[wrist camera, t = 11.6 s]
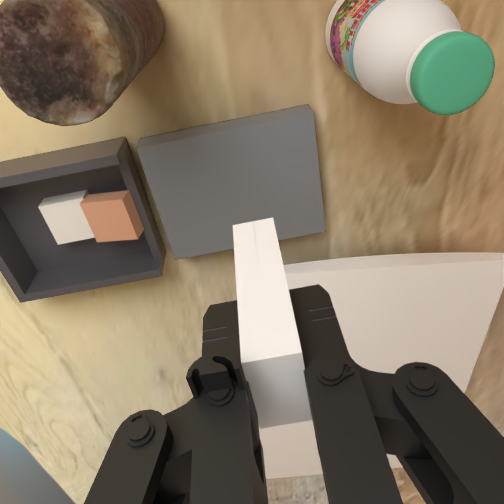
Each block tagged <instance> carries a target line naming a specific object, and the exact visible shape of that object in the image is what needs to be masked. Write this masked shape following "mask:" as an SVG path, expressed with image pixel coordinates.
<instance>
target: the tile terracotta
mask: <svg viewBox="0 0 504 504" xmlns="http://www.w3.org/2000/svg"><path fill="white" fill-rule="evenodd" d="M79 204H80V206H81V208H82V210H83V213H84V215H85V217H86V219H87V221H88V224H89V226H90V228H91V230H92V232H93V234H94V237H95V239H96V241H97V242H108V241H121V240H134V239H138V238H139V237H140V235H141V233H142V232H143V230H144V228H143V225H142V222H141V220H140V217H139V215H138V212H137V209H136V207H135V204H134V201H133V199H132V196H131V193H130V191H129V190H126V191H116V192H107V193H97V194H88V195H87V196H86V197H85V198H84V199H83V200H82V201H81V202H80V203H79Z"/></svg>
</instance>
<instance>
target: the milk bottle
mask: <svg viewBox="0 0 504 504" xmlns="http://www.w3.org/2000/svg"><path fill="white" fill-rule="evenodd" d="M325 41H326V46H327V49H328V52H329V54H330V56H331V58H332V59H333V60H334V62H335V63H336V64H337V65H338V66H339V67H340V68H341V69H342V70H343V71H344V72H345V73H346V74H348V75H349V76H350V77H351V78H352V79H353V80H354V81H355V82H356V83H358V84H359V85H360V86H361V87H362V88H363V89H365V90H366V91H367V92H369V93H370V94H372V95H373V96H375V97H376V98H378V99H381V100H383V101H386V102H389V103H394V104H412V103H419V104H420V105H421V106H422V107H424V108H425V109H427V110H428V111H430V112H432V113H435V114H439V115H452V114H457V113H460V112H462V111H464V110H466V109H468V108H470V107H471V106H472V105H474V104H475V103H476V102H477V101H478V100H479V99H480V98H481V97H482V96H483V95H484V93H485V92H486V90H487V89H488V87H489V85H490V83H491V80H492V78H493V74H494V67H495V62H494V56H493V53H492V50H491V48H490V47H489V45H488V44H487V43H486V42H485V41H484V40H483V39H482V38H480V37H478V36H476V35H474V34H471V33H468V32H464V31H462V30H461V27H460V24H459V22H458V20H457V18H456V16H455V14H454V13H453V12H452V11H451V9H450V8H449V7H448V6H447V5H446V4H444V3H443V2H442V1H440V0H338V1H337V2H336V3H335V5H334V6H333V8H332V10H331V12H330V14H329V16H328V19H327V23H326V28H325Z"/></svg>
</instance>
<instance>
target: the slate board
mask: <svg viewBox="0 0 504 504" xmlns="http://www.w3.org/2000/svg"><path fill="white" fill-rule="evenodd" d="M136 150H137V153H138V155H139V158H140V161H141V164H142V167H143V170H144V173H145V176H146V179H147V181H148V184H149V187H150V190H151V193H152V196H153V199H154V202H155V204H156V207H157V210H158V213H159V216H160V219H161V222H162V225H163V228H164V230H165V233H166V236H167V239H168V242H169V245H170V248H171V251H172V254H173V256H174V259H175V260H178V259H183V258H189V257H194V256H199V255H205V254H210V253H215V252H220V251H226V250H231V249H234V239H233V225H236V224H242V223H247V222H252V221H257V220H262V219H268V218H273V220H274V224H275V229H276V234H277V238H278V241H279V240H284V239H289V238H294V237H300V236H305V235H310V234H315V233H321V232H326V230H325V220H324V210H323V201H322V191H321V181H320V171H319V161H318V152H317V142H316V132H315V122H314V113H313V111H312V109H311V108H310V106H309V105H308V104H307V105H302V106H297V107H292V108H287V109H282V110H278V111H273V112H268V113H263V114H258V115H253V116H248V117H243V118H238V119H233V120H228V121H223V122H218V123H214V124H209V125H204V126H199V127H194V128H189V129H184V130H179V131H174V132H169V133H164V134H159V135H154V136H149V137H145V138H140V141H139V143H138V145H137V148H136Z"/></svg>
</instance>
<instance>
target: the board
mask: <svg viewBox="0 0 504 504" xmlns="http://www.w3.org/2000/svg"><path fill="white" fill-rule="evenodd" d="M283 266H284V271H285V275H286V280H287V285H288V289H289V290H290V289H295V288H301V287H306V286H311V285H317V284H319V285H320V286H322V287H323V288H324V289H325V290H326V291H327V292H328V293H329V295H330V298H331V301H332V304H333V308H334V310H335V313H336V317H337V319H338V322H339V325H340V328H341V331H342V334H343V337H344V340H345V343H346V346H347V349H348V352H349V354H350V356H351V358H352V359H353V360H354V361H355V362H356V363H357V364H358V365H360V366H361V367H363V368H365V369H368V370H370V371H375V372H382V373H392V374H395V372H396V370H397V369H398V368H400V367H401V366H403V365H404V364H407V363H412V362H424V363H429V364H431V365H434V366H436V367H438V368H440V369H441V370H442V371H443V372H445V373H446V374H447V375H448V376H449V377H450V378H451V380H452V381H453V382H454V383H455V384H456V385H457V386H458V387H459V388H460V390H461V391H462V392H463V393H464V394H465V391H466V388H467V385H468V383H469V380H470V377H471V375H472V372H473V369H474V366H475V364H476V361H477V358H478V356H479V353H480V350H481V347H482V345H483V342H484V339H485V337H486V334H487V331H488V328H489V326H490V323H491V320H492V318H493V315H494V312H495V309H496V307H497V304H498V301H499V299H500V296H501V293H502V290H503V288H504V253H477V252H459V253H414V254H392V255H376V256H362V257H350V258H339V259H329V260H320V261H311V262H303V263H295V264H287V265H283ZM259 436H260V440H261V444H262V447H263V455H264V465H265V476H266V479H271V478H283V477H295V476H307V475H319V474H323V472H322V467H321V462H320V457H319V454H318V448H317V442H316V437H315V431H314V425H313V420H309V421H303V422H298V423H292V424H286V425H280V426H274V427H268V428H262V429H260V427H259ZM387 457H388V460H389V463H390V466H391V468H402V467H403V466H402V465H401V463H400V462H399V460H398V459H397V457H396V455H390V454H387Z"/></svg>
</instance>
